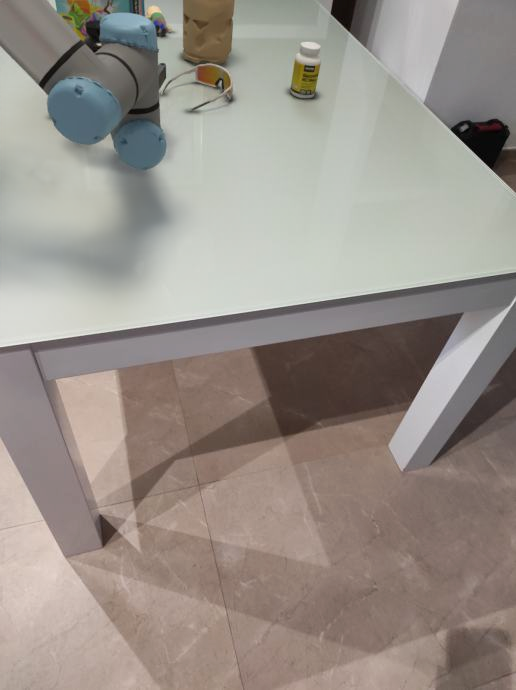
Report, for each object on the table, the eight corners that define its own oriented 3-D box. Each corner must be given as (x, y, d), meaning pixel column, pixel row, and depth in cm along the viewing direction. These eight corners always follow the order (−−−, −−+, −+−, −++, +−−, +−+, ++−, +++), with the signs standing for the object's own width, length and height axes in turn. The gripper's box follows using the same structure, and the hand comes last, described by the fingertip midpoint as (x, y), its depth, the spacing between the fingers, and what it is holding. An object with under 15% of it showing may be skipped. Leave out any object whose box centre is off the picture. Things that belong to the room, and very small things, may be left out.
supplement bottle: (127, 92, 108) (122, 28, 99) (95, 97, 105) (87, 31, 96) (113, 79, 111) (107, 16, 102) (82, 83, 108) (73, 19, 99)
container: (175, 61, 132) (174, -22, 118) (192, 46, 140) (193, -34, 127) (222, 72, 130) (226, -12, 117) (236, 56, 139) (242, -24, 125)
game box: (63, 60, 125) (39, -83, 105) (79, 52, 129) (60, -86, 109) (133, 83, 120) (123, -61, 100) (149, 74, 124) (142, -66, 104)
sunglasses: (244, 99, 121) (244, 77, 117) (196, 123, 114) (194, 102, 110) (204, 77, 126) (202, 56, 122) (156, 100, 120) (153, 78, 116)
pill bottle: (299, 100, 124) (307, 51, 116) (285, 90, 127) (292, 41, 119) (319, 97, 126) (328, 48, 118) (305, 87, 130) (313, 39, 121)
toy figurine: (170, 44, 145) (162, 26, 151) (177, 28, 142) (168, 11, 149) (143, 30, 140) (136, 12, 147) (150, 14, 137) (142, -4, 144)
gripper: (49, 131, 84) (38, 78, 97) (196, 123, 92) (168, 74, 104) (40, 84, 78) (30, 34, 91) (197, 79, 86) (168, 33, 99)
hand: (104, 55), depth 98 cm, fingers open, 13 cm apart
